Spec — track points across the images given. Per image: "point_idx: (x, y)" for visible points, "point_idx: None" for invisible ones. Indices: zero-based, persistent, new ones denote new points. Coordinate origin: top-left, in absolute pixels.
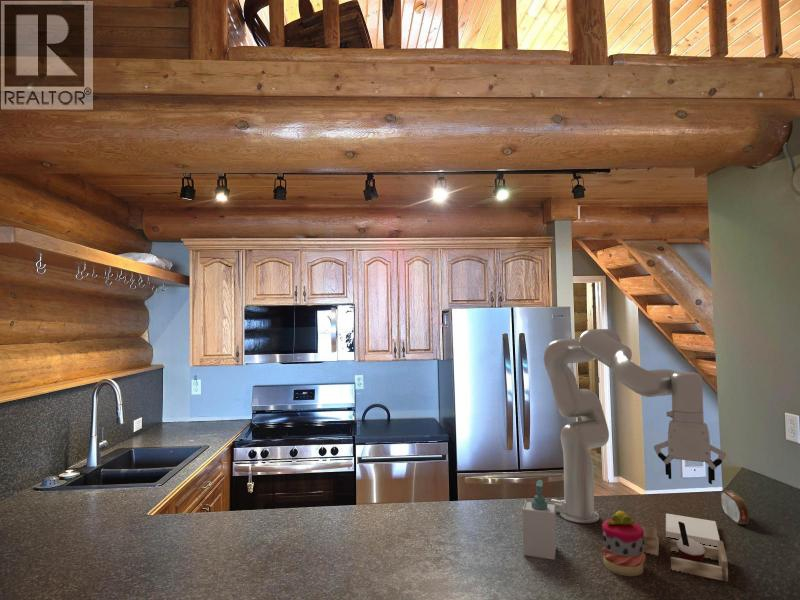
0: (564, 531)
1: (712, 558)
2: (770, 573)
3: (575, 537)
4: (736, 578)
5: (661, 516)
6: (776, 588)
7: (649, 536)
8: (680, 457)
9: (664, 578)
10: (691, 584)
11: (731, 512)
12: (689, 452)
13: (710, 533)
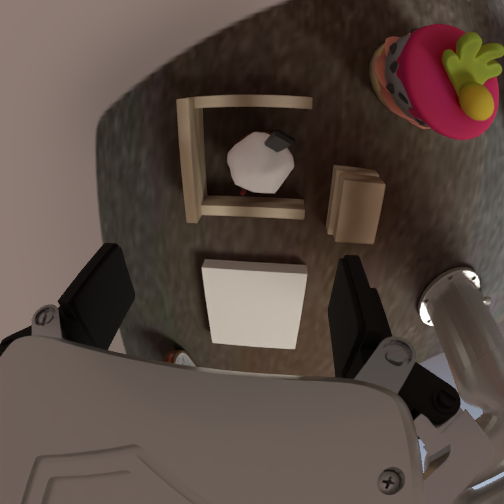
0: (489, 219)
1: (218, 196)
2: (124, 182)
3: (478, 198)
4: (176, 123)
5: (301, 347)
6: (116, 121)
7: (360, 186)
8: (273, 394)
9: (324, 49)
10: (267, 44)
11: None
12: (132, 454)
13: (218, 293)
